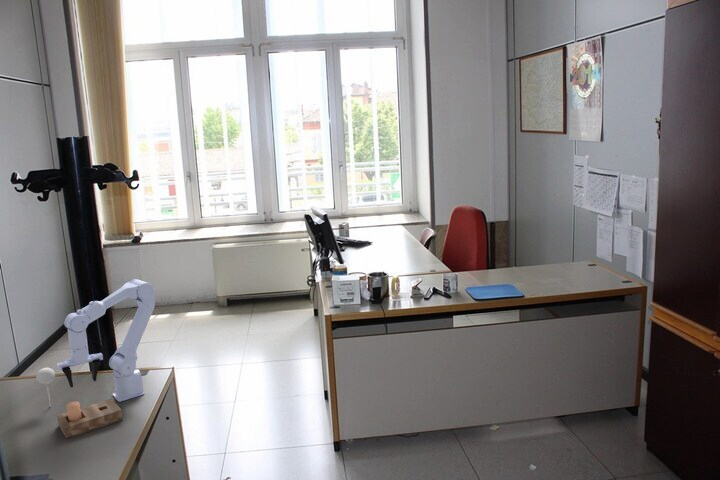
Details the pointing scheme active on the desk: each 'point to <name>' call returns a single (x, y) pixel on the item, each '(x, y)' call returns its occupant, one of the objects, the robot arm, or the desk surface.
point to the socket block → (90, 418)
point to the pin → (74, 411)
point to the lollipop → (46, 378)
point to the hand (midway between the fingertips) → (83, 383)
